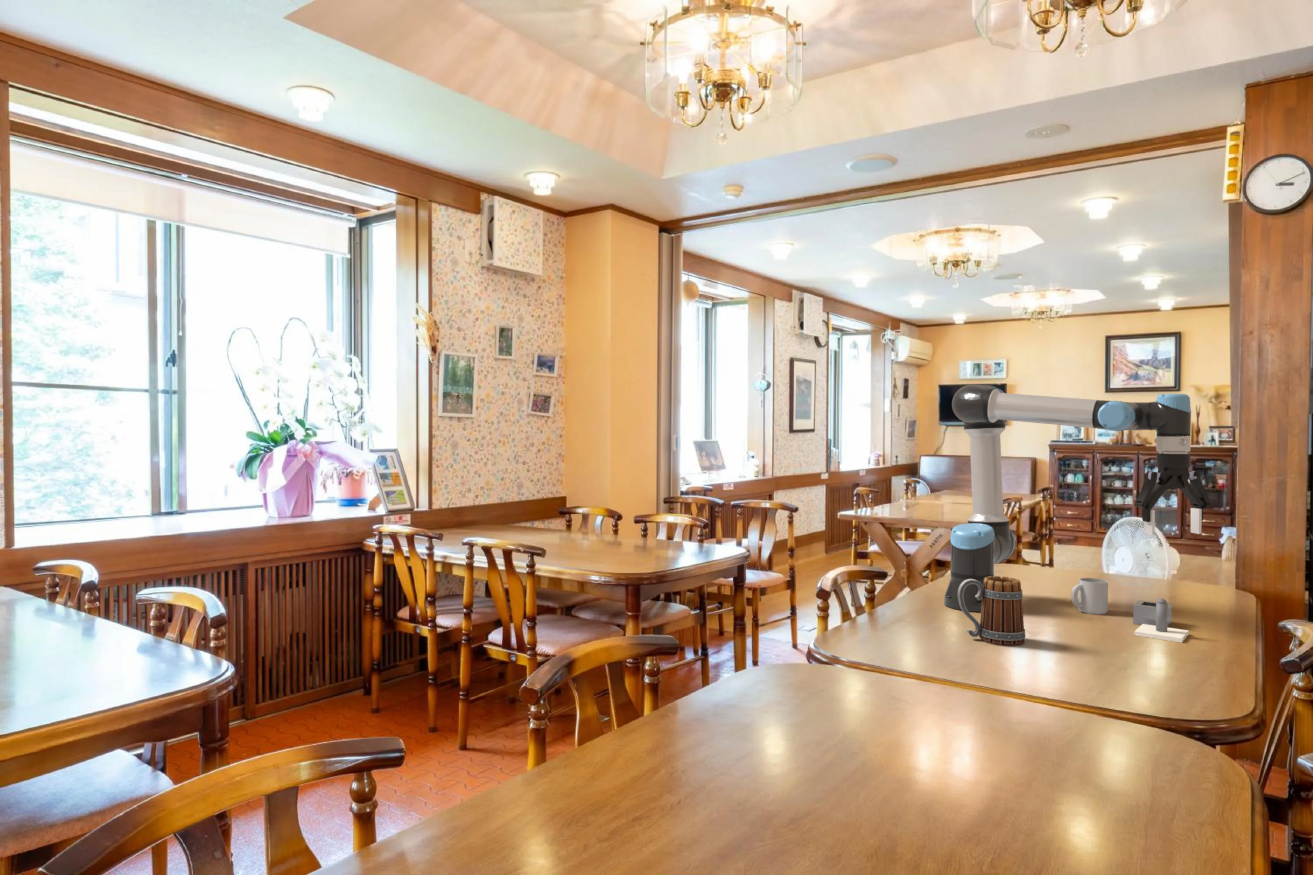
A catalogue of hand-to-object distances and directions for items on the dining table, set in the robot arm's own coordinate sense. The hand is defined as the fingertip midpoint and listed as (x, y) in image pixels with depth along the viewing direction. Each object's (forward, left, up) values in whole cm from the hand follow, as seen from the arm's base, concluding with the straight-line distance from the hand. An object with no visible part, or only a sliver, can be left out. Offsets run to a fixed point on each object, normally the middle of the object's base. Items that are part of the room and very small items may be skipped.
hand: (1172, 533), depth 207 cm
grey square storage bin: (-4, -1, -24) cm, 25 cm away
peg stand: (0, -13, -24) cm, 27 cm away
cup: (-20, +2, -24) cm, 32 cm away
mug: (-31, -46, -24) cm, 60 cm away
